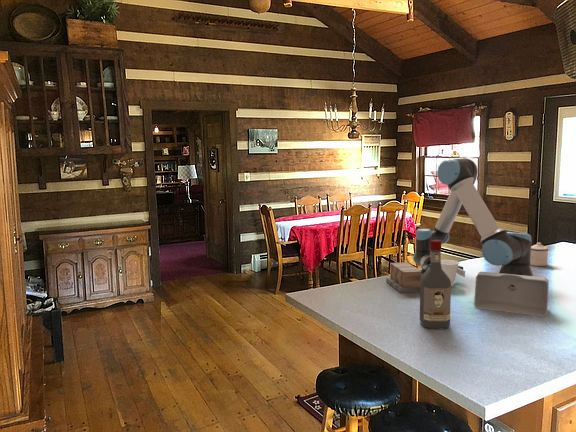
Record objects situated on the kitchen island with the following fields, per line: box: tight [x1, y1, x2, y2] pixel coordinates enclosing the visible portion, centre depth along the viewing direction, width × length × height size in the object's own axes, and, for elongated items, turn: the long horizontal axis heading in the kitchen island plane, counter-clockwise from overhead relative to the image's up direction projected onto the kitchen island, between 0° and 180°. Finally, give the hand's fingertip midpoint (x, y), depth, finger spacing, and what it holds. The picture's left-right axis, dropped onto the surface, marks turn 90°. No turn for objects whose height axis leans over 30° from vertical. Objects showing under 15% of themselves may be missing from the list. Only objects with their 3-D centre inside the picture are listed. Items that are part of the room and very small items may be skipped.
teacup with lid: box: [530, 242, 549, 267], centre depth 249 cm, size 12×9×12 cm
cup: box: [441, 259, 460, 288], centre depth 212 cm, size 10×10×11 cm
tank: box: [473, 271, 550, 317], centre depth 182 cm, size 25×16×12 cm, turn 61°
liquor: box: [419, 240, 452, 330], centre depth 163 cm, size 9×9×30 cm
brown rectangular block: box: [385, 261, 423, 293], centre depth 213 cm, size 18×12×9 cm, turn 6°
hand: (450, 274), depth 209 cm, fingers open, 12 cm apart
